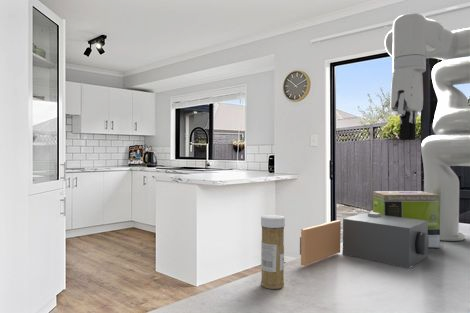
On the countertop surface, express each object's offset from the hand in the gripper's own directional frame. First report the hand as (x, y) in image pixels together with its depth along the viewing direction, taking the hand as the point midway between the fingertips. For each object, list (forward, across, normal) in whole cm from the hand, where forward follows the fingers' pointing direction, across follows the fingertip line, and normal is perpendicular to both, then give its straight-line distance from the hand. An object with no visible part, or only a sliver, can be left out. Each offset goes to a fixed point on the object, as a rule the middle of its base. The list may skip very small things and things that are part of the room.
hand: (407, 139), depth 91 cm
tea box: (+29, -13, -5) cm, 32 cm away
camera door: (+29, +19, -13) cm, 37 cm away
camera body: (+29, +4, -4) cm, 30 cm away
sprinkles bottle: (+29, +40, -11) cm, 51 cm away
